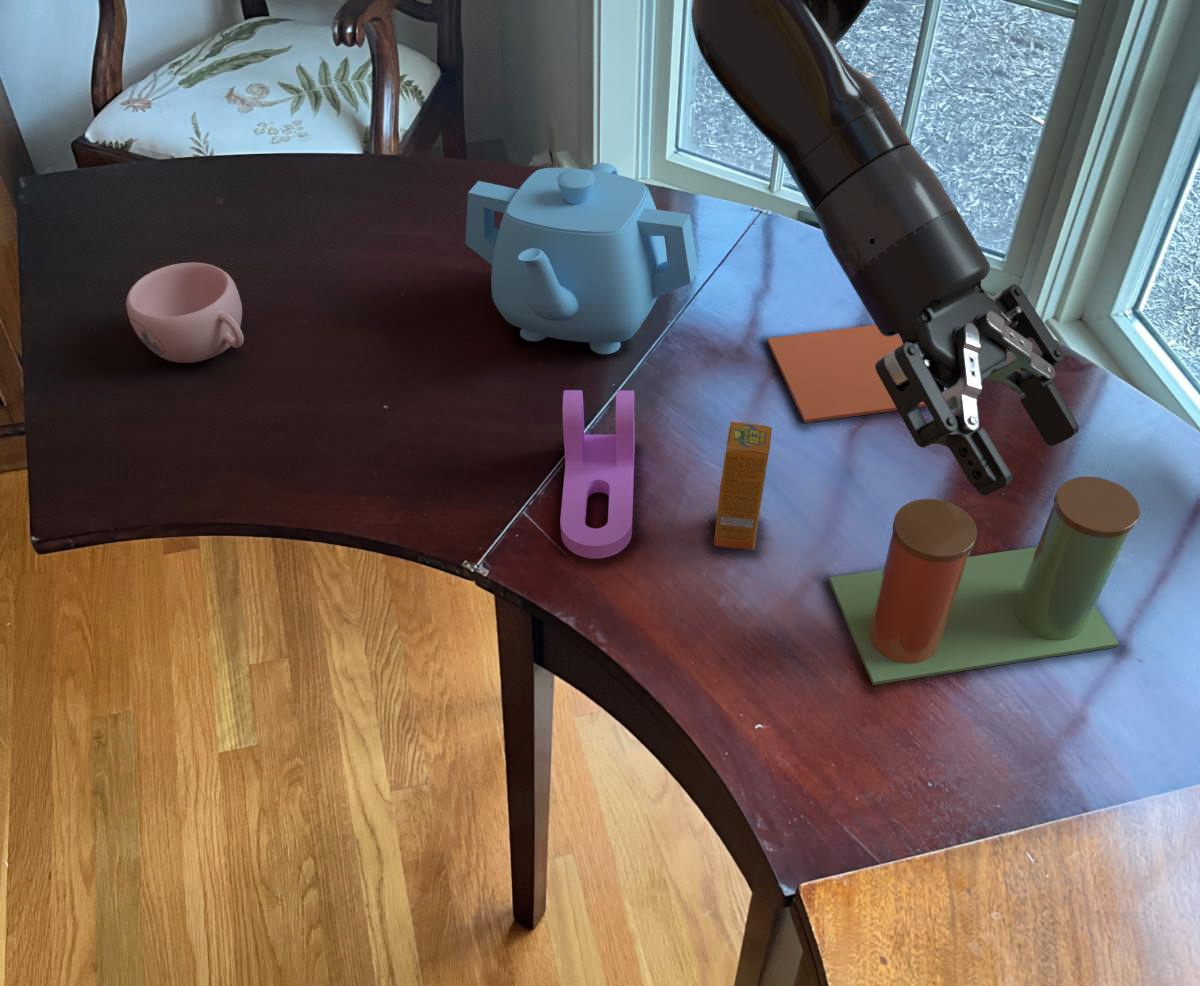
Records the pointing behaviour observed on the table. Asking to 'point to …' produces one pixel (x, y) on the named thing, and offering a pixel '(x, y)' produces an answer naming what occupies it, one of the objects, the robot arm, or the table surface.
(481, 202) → the teapot
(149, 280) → the mug
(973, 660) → the sage mat
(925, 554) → the terracotta canister
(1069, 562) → the sage canister
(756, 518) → the supplement box
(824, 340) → the terracotta mat
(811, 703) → the table surface
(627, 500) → the bracket
